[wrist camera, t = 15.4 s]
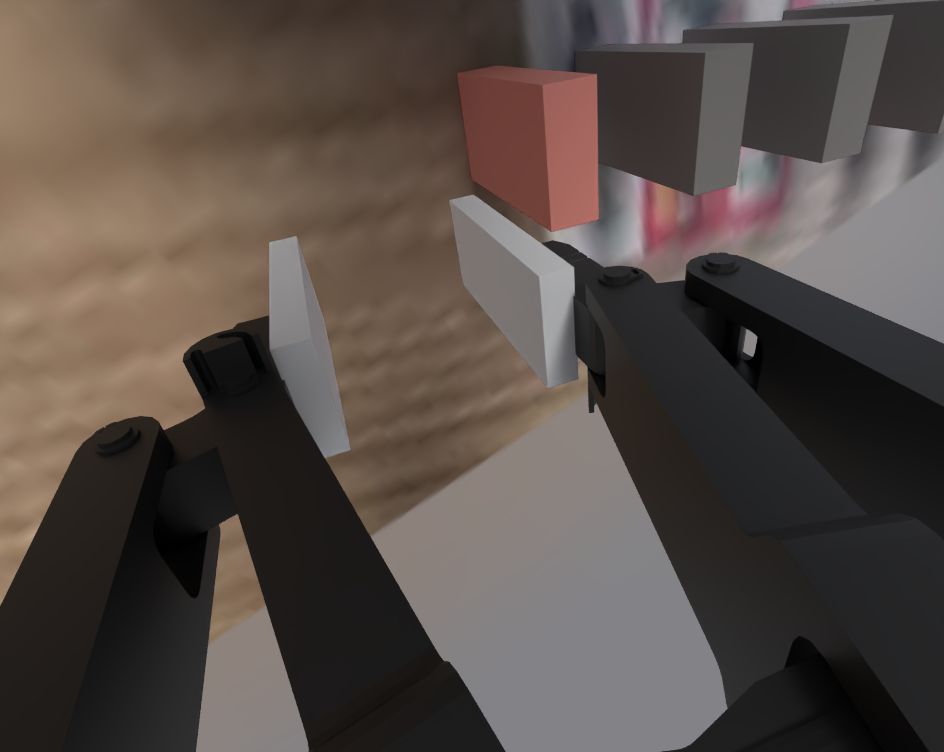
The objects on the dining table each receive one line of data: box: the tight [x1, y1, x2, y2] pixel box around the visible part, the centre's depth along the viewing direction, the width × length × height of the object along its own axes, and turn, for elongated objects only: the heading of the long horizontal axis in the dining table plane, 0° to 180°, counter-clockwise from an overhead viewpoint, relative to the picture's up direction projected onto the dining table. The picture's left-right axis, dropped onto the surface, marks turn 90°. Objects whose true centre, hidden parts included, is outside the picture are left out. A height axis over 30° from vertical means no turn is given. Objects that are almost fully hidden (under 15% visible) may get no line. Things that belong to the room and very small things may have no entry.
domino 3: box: [782, 0, 944, 134], centre depth 32 cm, size 2×6×12 cm, turn 8°
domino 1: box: [575, 43, 754, 196], centre depth 30 cm, size 2×6×12 cm, turn 8°
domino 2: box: [683, 15, 893, 163], centre depth 31 cm, size 2×6×12 cm, turn 8°
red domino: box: [457, 66, 599, 232], centre depth 28 cm, size 2×6×12 cm, turn 8°
